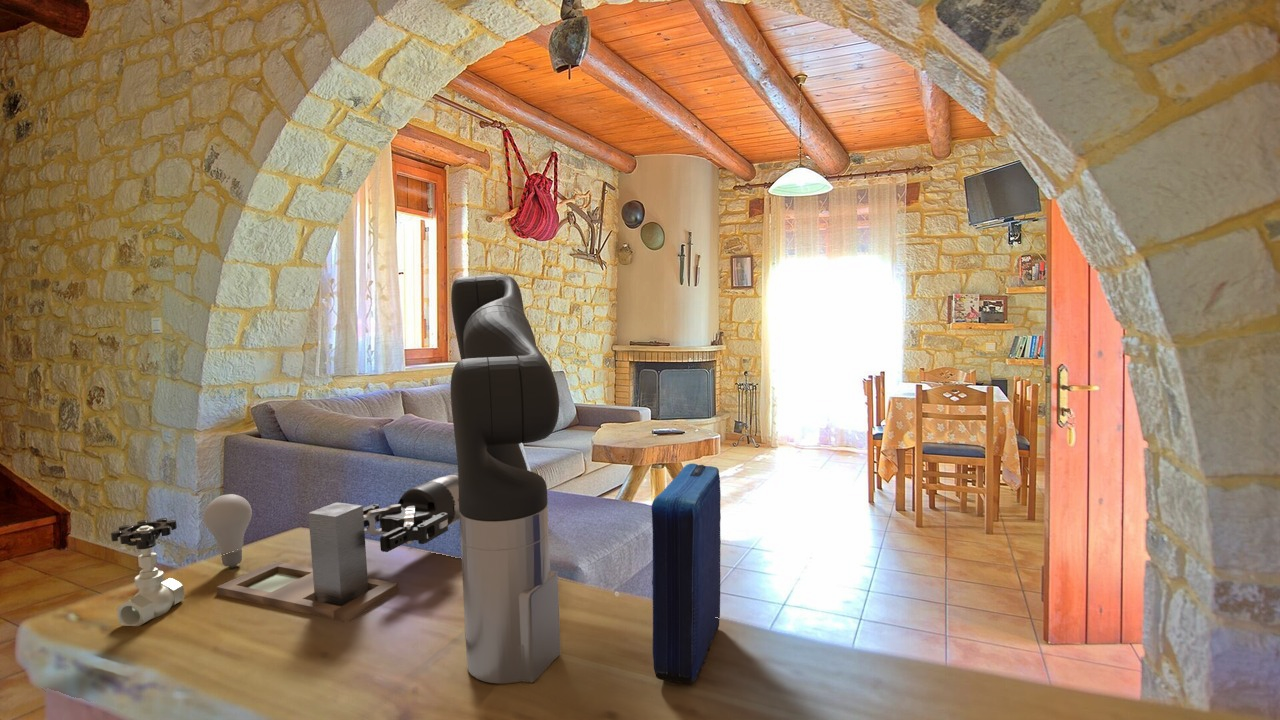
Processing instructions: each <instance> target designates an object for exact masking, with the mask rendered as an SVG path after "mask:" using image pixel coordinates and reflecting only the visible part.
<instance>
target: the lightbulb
mask: <svg viewBox="0 0 1280 720" xmlns="http://www.w3.org/2000/svg"><path fill="white" fill-rule="evenodd" d="M252 515H253V510H252V506H251V504H250V502H249V501H248V500H247V499H246V498H245V497H243V496H240V495H239V494H235V493H229V494H222V495H220V496H217V497H216V498H214V499H213V500H212V501H210V503H208V505H207V506H206V507H205V510H204V514H203V522H204V525H205V527H206V528H207V530H208V531H209V533H210V534H211V535H212V536H213V537H214V539H215V541H216V543H217V547H218V552H219V553H220V555H222V556H221V557H220V558H221V562H222V565H223V566H225V567H226V566H227V567H228V568H235V567H237V566H238V564H240V563H241V562H242V560H243V548H244V538H245V533H246V530H247V528H249V527H248V526H249V524H250V522H251V521H252ZM242 547H243V548H242ZM237 549H238V550H237ZM232 551H234V552H232ZM229 552H230V553H229ZM226 553H228V554H226ZM223 554H225V555H223Z"/></svg>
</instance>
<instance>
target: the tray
mask: <svg viewBox="0 0 1280 720" xmlns="http://www.w3.org/2000/svg"><path fill="white" fill-rule="evenodd" d="M399 586H400V585H399V582H393V581H388V580H382V579H376V578H371V577H368V592H367V593H365V594H363V595H361V596H359V597H358V598H356V599H354V600H352V601H351V602H349V603H347V604H345V605H344V606H342V607H341V606H336V605H331V604H326V603H321V602H316V601H315V594H314V581H313V568H312V567H309V566H303V565H298V564H293V563H287V562H283V561H277V560H275V561H272V562H270V563H267V564H265V565H263V566H261V567H259V568H256V569H254V570H252V571H249V572H247V573H245V574H242V575H240V576H238V577H236V578H233V579H231V580H228V581H226V582H224V583H222V584H219V585H217V586H216V595H219V596H223V597H227V598H233V599H237V600H243V601H246V602H250V603H251V602H252V603H256V604H261V605H263V606H264V605H265V606H271V607H274V608H279V609H284V610H288V611H293V612H298V613H301V614H307V615H311V616H315V617H321V618H326V619H329V620H334V621H341V622H344V623H348V622H349V621H351V620H352V619H354V618H356V617H359V616H360V615H361V614H363V613H364V612H366V611H368V610H369V609H371V608H373V607H374V606H376V605H378V604H379V603H381V602H383V601H384V600H386V599H388V598H389V597H391V596H393V595H394V594H397V593H398V592H399V591H400V589H399Z"/></svg>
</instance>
